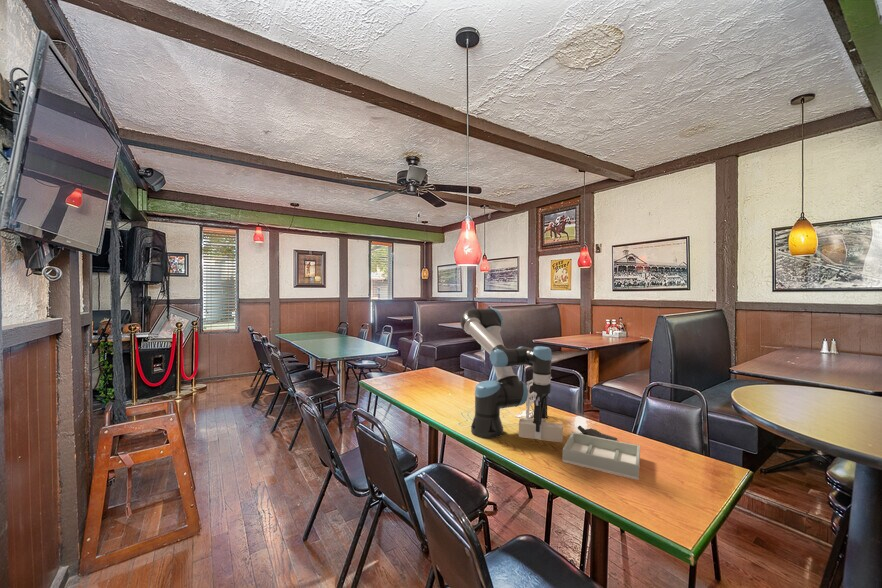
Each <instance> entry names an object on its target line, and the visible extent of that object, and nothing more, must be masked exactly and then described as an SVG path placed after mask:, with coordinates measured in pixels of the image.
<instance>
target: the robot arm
mask: <svg viewBox="0 0 882 588" xmlns="http://www.w3.org/2000/svg"><path fill="white" fill-rule="evenodd" d="M503 323H504V322H503V316H502V313H501V312H500V311H499V310H498V309H496V308H490V307H489V308H471V309H466V310H465V311H464V313H462V315H461V317H460V326H461V329H462V330H463V331H464V333H466V334H467V335H470V336H471V337H472V338H473V339H474V340H475V341H476V342H477V343H478V344H479V345H480V346H481V348H483V350H485V351H486V352H487V353H488V354H489V361H490V363H491V365H492V366H493V369H494V371H495V376H496V378H497V379H496V380H493V379H491V380H484V381H480V382H478V383H477V384H475V389H474V416H473V420H472V422H471V426H470V432H471V434H473V435H474V436H476V437H479V438H484V439H495V438H499V437H500V438H501V436H502V435H503V434H504V426H503V423H502V420H501V416H500V415H501V413H500V412H501V409H507V408H517V407H519V406H523V405H525V404H526V401H527V397H528V389H527V383H525V382H524V381H523V380H520V379H519V375H517V374H515V373H514V370H513V368H512V367H513V366H514V367H515V366H517V367H518V366H525V365H527V366H530V367H532V379H533V385H532V393H533V392H535V393H537V396H536V398H535V397H534V399H535V400H534V403H533V405H534V406H533V407H534V408H533V409H534V416H533V419H534V421H533V423H534V424H535V438H536V439H535V440H539V439H540V440H541V435H542V424H541V422H547V419H549V417H548V399H549V397H548V396H549V394H550V393H551V392H552V391H551V387H552V384H551V379H553V377H552V361H553V360H552V359H553V357H552V355H553V354H552V349H551V348H550V347H548V346H541V345H540V346H539V345H537V346H534V347H533V348H531V347H527V346H518V347H517V348H507V347H506V346H505V345H504V341H503V339H502V335H501V331H502V326H503ZM540 440H539V441H540ZM541 441H542V440H541Z"/></svg>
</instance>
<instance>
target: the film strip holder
mask: <svg viewBox="0 0 882 588" xmlns="http://www.w3.org/2000/svg"><path fill="white" fill-rule="evenodd" d="M526 386H527V389H528V397H527V401H526V402H525V406H526V409H525V410H524V409H523V410H521V411H520V412H519V413H518V414H515V415H514V417H515V418H518V419H524V420H533V421H534V414H533V413H534V408H533V407H534V406H533V405H534V400H535V398H536V396H537V393H535V392H533V391H532V392H531V393H530V389H531V387H533V378H532V379H531V380H528V381H526ZM530 407H531V410H530ZM521 413H522V414H521ZM531 417H532V418H531Z"/></svg>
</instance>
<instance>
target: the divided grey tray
mask: <svg viewBox="0 0 882 588" xmlns="http://www.w3.org/2000/svg"><path fill="white" fill-rule="evenodd" d="M561 460H562V461H561V462H562V463H565V464H569V465H575V466H578V467H582V468H587V469H590V470H591V469H592V470H595V471H598V472H603V473H608V474H611V475H614V476H618V477H623V478H628V479H632V480H637V481H639V480H640V479H639V477H640V463H641V445H638V444H633V443H629V442H624V441H618V440H617V441H614V440H609V439H604V438H599V437H594V436H589V435H584V434H582V433H578V432H573V431H572V432H571V433H570V435H569V437H568V438H567V441H566V442H565V444H564V446H563V448H562V459H561Z"/></svg>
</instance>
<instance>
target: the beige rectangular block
mask: <svg viewBox="0 0 882 588" xmlns="http://www.w3.org/2000/svg"><path fill="white" fill-rule="evenodd" d="M541 424H542V435H541V441H549V442H553V443H554V442H555V443H563V437H564V435H563V433H564V432H563V431H564V426H563V423H556V422H548V421H546V422H541ZM518 438H526V439H533V440H537V439H536V438H535V424H534V423H533V420H526V419H521V418H519V421H518ZM538 440H539V441H540V439H538Z"/></svg>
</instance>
